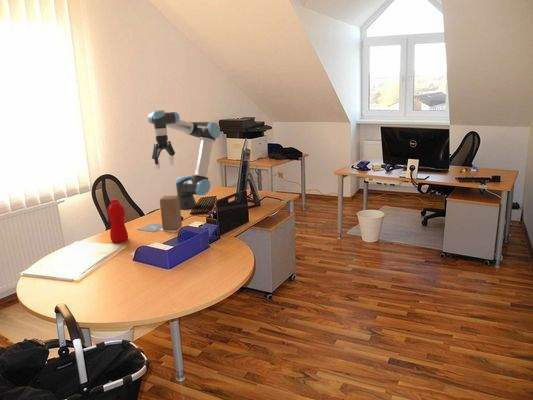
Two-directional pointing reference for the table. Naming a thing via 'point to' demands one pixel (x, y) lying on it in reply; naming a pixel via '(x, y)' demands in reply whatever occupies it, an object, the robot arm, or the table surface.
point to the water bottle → (117, 221)
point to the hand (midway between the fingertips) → (165, 167)
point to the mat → (171, 230)
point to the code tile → (152, 227)
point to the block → (170, 212)
